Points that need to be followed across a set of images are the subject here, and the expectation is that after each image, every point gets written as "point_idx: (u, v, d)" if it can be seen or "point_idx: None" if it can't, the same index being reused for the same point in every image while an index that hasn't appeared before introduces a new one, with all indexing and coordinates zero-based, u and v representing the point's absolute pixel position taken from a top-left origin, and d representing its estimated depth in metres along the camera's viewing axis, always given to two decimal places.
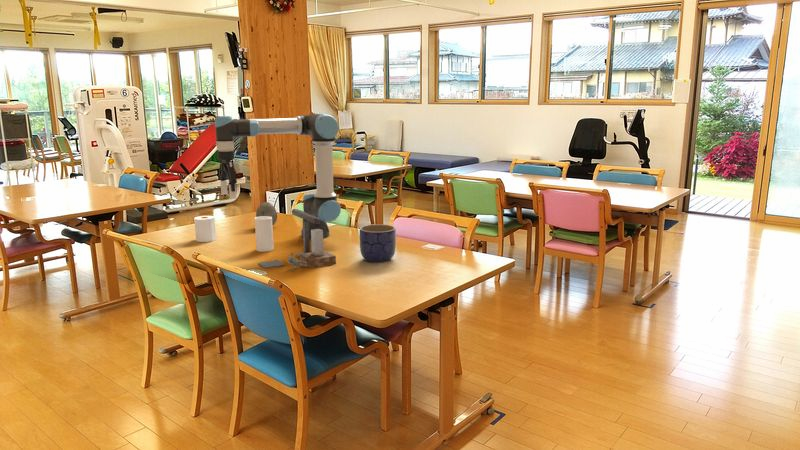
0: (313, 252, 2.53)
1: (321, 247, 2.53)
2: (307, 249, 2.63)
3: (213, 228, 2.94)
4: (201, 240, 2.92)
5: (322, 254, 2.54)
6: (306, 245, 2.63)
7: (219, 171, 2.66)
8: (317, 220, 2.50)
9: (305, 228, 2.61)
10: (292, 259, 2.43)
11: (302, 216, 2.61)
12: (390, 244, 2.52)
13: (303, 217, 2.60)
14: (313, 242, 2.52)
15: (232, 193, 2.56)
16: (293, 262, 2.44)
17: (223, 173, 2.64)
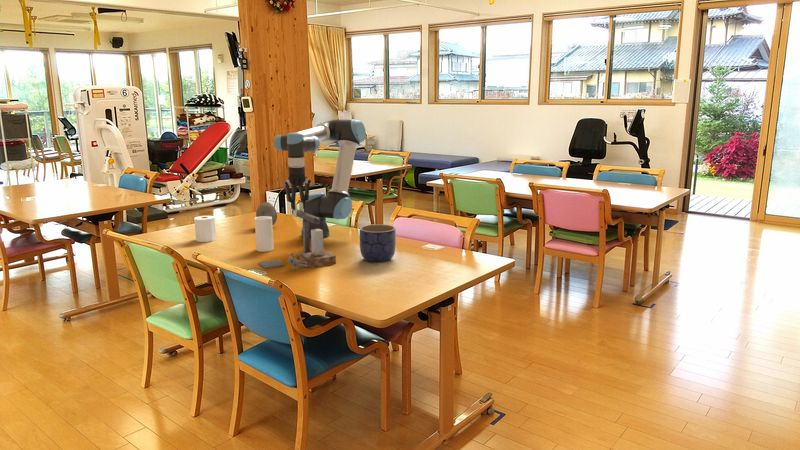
0: (313, 252, 2.53)
1: (321, 247, 2.53)
2: (307, 249, 2.63)
3: (213, 228, 2.94)
4: (201, 240, 2.92)
5: (322, 254, 2.54)
6: (306, 245, 2.63)
7: None
8: (317, 220, 2.50)
9: (305, 228, 2.61)
10: (292, 259, 2.43)
11: (302, 216, 2.61)
12: (390, 244, 2.52)
13: (303, 217, 2.60)
14: (313, 242, 2.52)
15: (294, 211, 2.67)
16: (293, 262, 2.44)
17: (299, 191, 2.66)
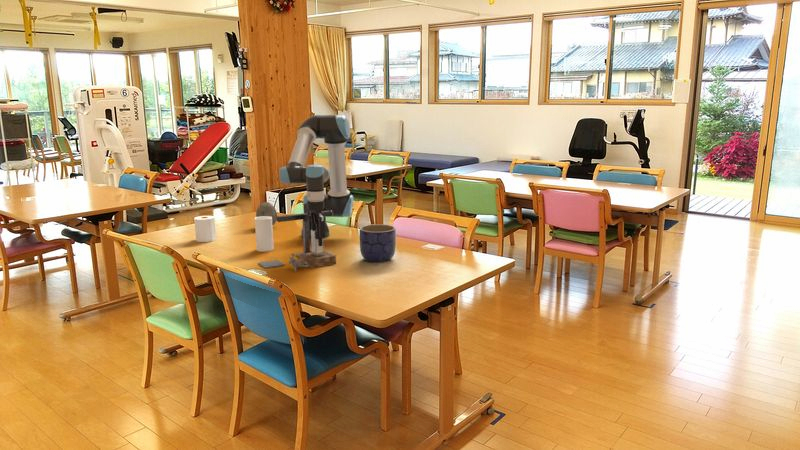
0: (313, 252, 2.53)
1: None
2: (307, 249, 2.63)
3: (213, 228, 2.94)
4: (201, 240, 2.92)
5: (322, 254, 2.54)
6: (306, 245, 2.63)
7: (309, 225, 2.56)
8: (332, 212, 2.68)
9: (305, 228, 2.61)
10: (294, 260, 2.42)
11: (305, 217, 2.60)
12: (390, 244, 2.52)
13: None
14: (313, 242, 2.52)
15: (319, 247, 2.51)
16: (295, 263, 2.43)
17: (314, 225, 2.53)
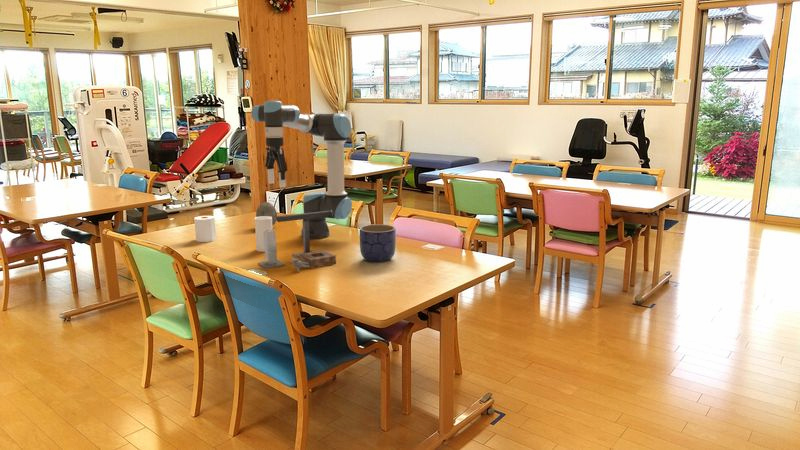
0: (266, 253, 2.50)
1: (274, 248, 2.49)
2: (307, 249, 2.63)
3: (213, 228, 2.94)
4: (201, 240, 2.92)
5: (275, 255, 2.50)
6: (306, 245, 2.63)
7: (266, 159, 2.54)
8: (332, 212, 2.68)
9: (305, 228, 2.61)
10: (297, 261, 2.41)
11: (305, 217, 2.60)
12: (390, 244, 2.52)
13: (308, 217, 2.60)
14: (266, 243, 2.48)
15: (282, 181, 2.44)
16: (297, 264, 2.42)
17: (271, 161, 2.52)
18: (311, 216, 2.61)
